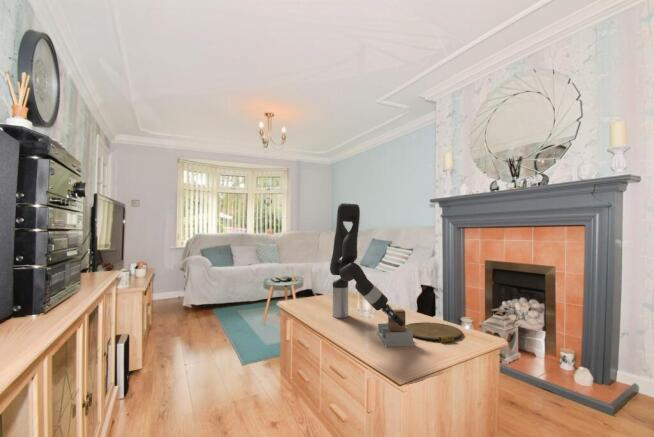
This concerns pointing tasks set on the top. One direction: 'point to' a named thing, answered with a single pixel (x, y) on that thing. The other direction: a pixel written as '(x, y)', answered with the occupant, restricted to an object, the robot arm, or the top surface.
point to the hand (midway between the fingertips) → (401, 323)
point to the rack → (394, 336)
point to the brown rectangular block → (394, 325)
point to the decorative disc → (434, 331)
